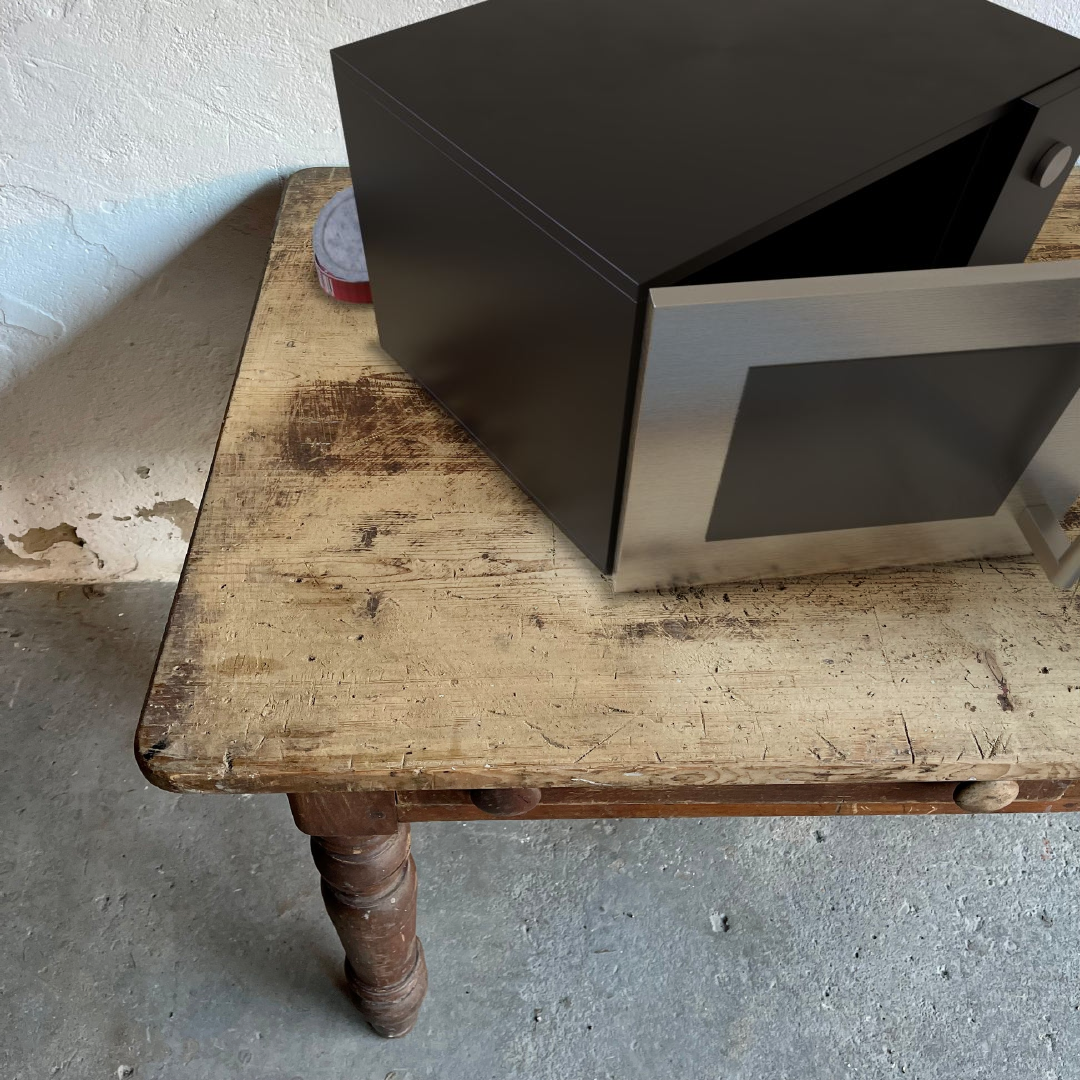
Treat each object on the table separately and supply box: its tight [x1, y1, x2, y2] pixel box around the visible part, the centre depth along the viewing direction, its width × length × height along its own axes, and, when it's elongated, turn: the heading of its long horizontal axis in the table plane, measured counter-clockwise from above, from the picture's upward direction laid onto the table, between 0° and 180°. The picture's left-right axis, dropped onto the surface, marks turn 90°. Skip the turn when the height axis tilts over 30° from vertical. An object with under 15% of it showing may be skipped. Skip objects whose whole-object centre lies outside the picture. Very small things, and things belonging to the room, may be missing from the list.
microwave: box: [329, 0, 1080, 576], centre depth 76 cm, size 36×46×28 cm
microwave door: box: [611, 258, 1080, 594], centre depth 58 cm, size 8×35×28 cm, turn 97°
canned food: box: [312, 184, 373, 304], centre depth 91 cm, size 11×10×10 cm
